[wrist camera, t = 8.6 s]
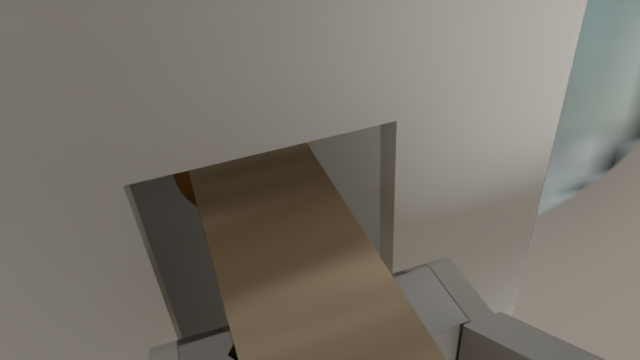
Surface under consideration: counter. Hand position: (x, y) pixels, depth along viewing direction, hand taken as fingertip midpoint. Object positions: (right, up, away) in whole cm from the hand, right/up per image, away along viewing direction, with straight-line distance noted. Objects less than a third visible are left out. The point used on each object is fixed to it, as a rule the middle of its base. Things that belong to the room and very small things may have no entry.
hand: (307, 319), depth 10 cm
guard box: (-4, +6, +8) cm, 11 cm away
